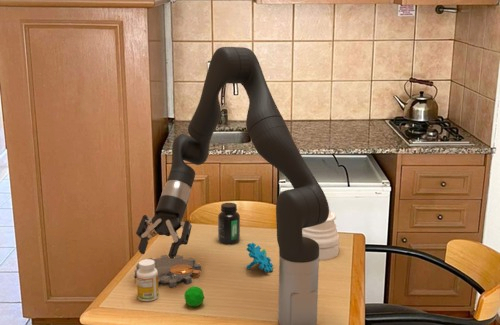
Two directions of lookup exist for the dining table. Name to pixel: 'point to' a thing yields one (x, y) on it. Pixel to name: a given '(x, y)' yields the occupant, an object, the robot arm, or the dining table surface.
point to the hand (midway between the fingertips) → (155, 255)
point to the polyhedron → (194, 296)
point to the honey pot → (324, 237)
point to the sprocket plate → (175, 270)
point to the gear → (259, 258)
